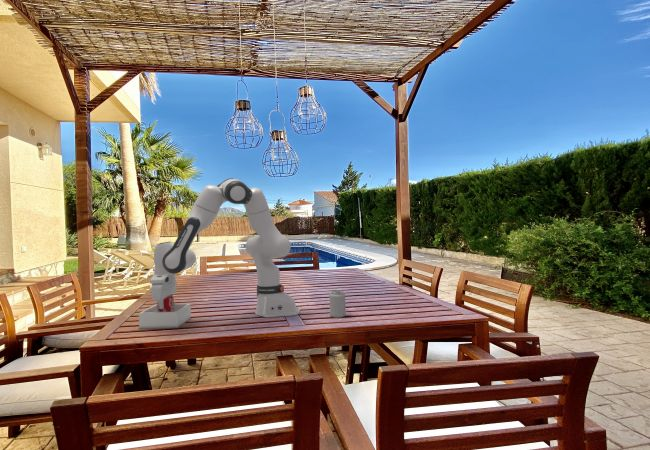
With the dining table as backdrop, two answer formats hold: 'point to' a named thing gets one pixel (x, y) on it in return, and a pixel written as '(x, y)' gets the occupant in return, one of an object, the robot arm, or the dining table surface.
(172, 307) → the soda can
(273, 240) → the robot arm
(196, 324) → the dining table surface
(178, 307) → the bin
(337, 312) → the can
